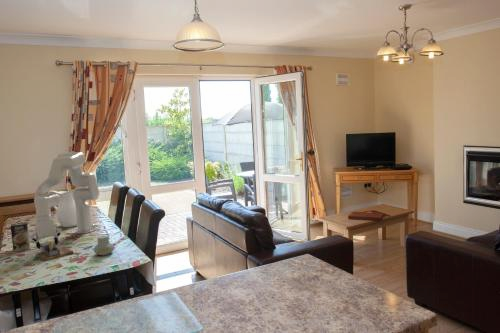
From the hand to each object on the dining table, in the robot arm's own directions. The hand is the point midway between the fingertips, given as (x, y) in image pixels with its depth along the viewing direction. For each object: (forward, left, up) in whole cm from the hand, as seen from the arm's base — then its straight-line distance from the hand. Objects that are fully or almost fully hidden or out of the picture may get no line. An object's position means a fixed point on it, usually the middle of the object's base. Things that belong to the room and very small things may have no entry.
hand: (47, 246), depth 228 cm
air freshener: (-22, +28, -5) cm, 36 cm away
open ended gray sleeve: (0, +3, -3) cm, 5 cm away
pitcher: (-31, -64, -5) cm, 72 cm away
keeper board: (-2, +5, -5) cm, 7 cm away
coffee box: (+8, -25, -5) cm, 27 cm away
